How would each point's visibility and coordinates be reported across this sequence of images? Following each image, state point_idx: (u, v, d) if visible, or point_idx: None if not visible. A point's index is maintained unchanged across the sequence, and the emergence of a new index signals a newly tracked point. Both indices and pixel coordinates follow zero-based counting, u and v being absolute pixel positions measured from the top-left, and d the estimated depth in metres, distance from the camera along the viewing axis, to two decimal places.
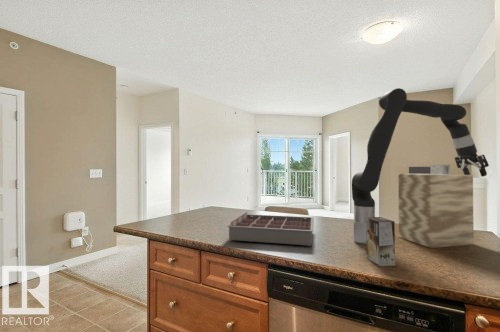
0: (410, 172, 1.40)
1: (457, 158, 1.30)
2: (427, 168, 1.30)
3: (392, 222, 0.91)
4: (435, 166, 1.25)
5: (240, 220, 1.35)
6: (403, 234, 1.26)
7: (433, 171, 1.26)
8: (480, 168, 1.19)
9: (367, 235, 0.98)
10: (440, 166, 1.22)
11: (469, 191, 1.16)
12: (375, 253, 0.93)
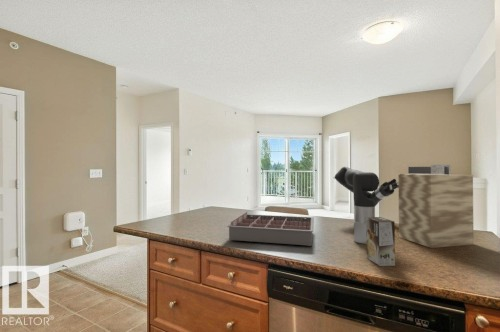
0: (410, 172, 1.40)
1: None
2: (427, 168, 1.30)
3: (392, 222, 0.91)
4: (436, 166, 1.25)
5: (240, 220, 1.35)
6: (403, 234, 1.26)
7: (434, 171, 1.26)
8: None
9: (367, 235, 0.98)
10: (441, 166, 1.22)
11: (469, 191, 1.16)
12: (375, 253, 0.93)
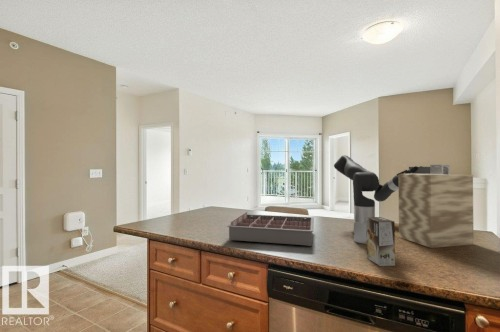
0: None
1: None
2: (427, 168, 1.30)
3: (392, 222, 0.91)
4: (435, 166, 1.25)
5: (240, 220, 1.35)
6: (403, 234, 1.26)
7: (433, 171, 1.26)
8: None
9: (367, 235, 0.98)
10: (440, 166, 1.22)
11: (469, 191, 1.16)
12: (375, 253, 0.93)
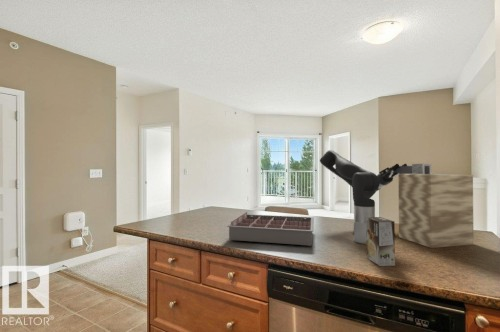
0: None
1: None
2: (409, 167, 1.28)
3: (392, 222, 0.91)
4: (416, 165, 1.23)
5: (240, 220, 1.35)
6: (403, 234, 1.26)
7: (414, 170, 1.24)
8: None
9: (367, 235, 0.98)
10: (421, 165, 1.20)
11: (469, 191, 1.16)
12: (375, 253, 0.93)
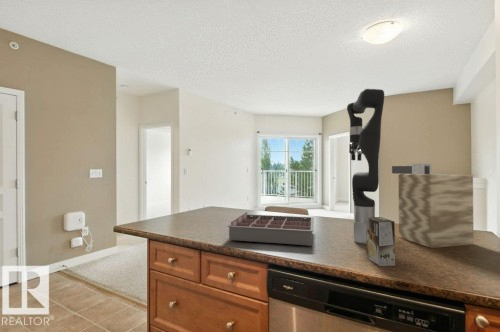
0: (393, 171, 1.38)
1: None
2: (409, 167, 1.28)
3: (392, 222, 0.91)
4: (416, 165, 1.23)
5: (240, 220, 1.35)
6: (403, 234, 1.26)
7: (414, 170, 1.24)
8: (361, 153, 1.59)
9: (367, 235, 0.98)
10: (421, 165, 1.20)
11: (469, 191, 1.16)
12: (375, 253, 0.93)
